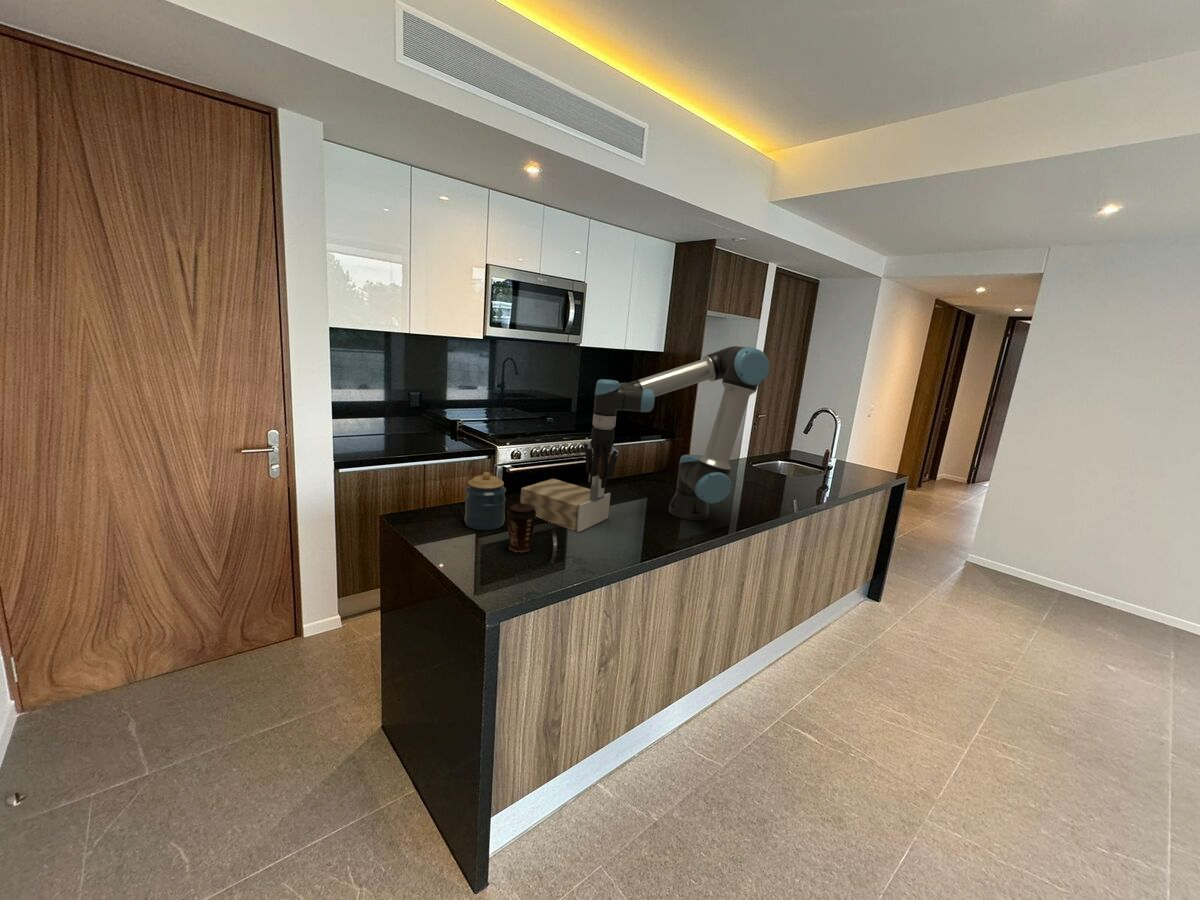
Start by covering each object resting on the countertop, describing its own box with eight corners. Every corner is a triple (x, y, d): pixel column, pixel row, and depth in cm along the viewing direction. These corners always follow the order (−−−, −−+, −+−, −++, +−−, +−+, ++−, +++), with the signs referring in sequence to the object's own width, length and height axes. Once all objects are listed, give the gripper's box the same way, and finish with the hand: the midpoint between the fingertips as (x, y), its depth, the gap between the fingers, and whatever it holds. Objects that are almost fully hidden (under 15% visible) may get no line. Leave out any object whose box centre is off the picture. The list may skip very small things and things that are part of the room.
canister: (457, 527, 160) (458, 474, 156) (474, 514, 172) (476, 464, 168) (495, 533, 158) (498, 480, 154) (510, 519, 170) (512, 469, 166)
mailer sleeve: (603, 517, 180) (605, 493, 178) (574, 531, 165) (576, 505, 163) (551, 500, 193) (552, 478, 191) (519, 512, 178) (521, 488, 176)
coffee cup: (515, 539, 155) (517, 499, 152) (539, 545, 152) (542, 505, 149) (500, 549, 147) (502, 508, 144) (524, 556, 144) (527, 514, 141)
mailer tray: (610, 518, 179) (614, 479, 175) (581, 532, 164) (585, 490, 161) (555, 501, 191) (558, 464, 188) (524, 513, 177) (526, 473, 173)
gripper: (578, 424, 165) (572, 492, 170) (616, 432, 157) (609, 503, 162) (591, 422, 171) (585, 488, 176) (628, 430, 163) (621, 498, 169)
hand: (597, 495), depth 169 cm, fingers closed on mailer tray, 2 cm apart
